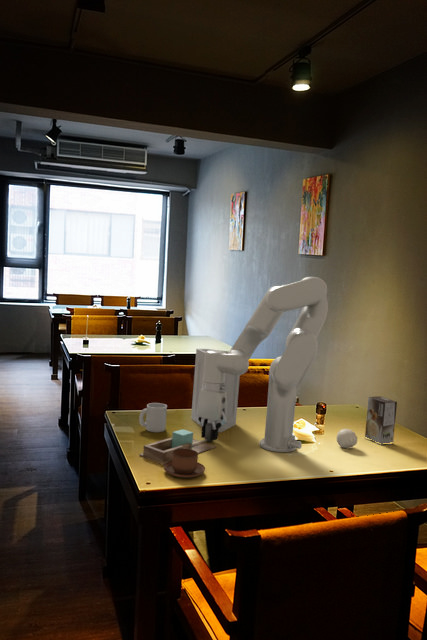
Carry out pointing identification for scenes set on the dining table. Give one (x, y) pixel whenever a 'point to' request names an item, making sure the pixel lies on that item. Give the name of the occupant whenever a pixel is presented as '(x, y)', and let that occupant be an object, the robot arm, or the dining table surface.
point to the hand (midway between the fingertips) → (209, 438)
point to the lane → (170, 450)
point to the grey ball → (346, 438)
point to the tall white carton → (231, 390)
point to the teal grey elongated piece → (189, 436)
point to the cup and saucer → (184, 464)
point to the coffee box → (380, 419)
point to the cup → (154, 417)
